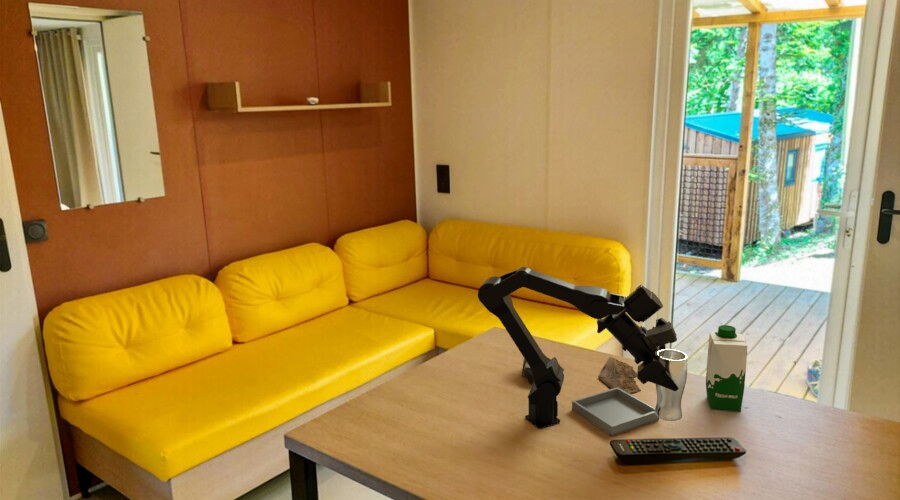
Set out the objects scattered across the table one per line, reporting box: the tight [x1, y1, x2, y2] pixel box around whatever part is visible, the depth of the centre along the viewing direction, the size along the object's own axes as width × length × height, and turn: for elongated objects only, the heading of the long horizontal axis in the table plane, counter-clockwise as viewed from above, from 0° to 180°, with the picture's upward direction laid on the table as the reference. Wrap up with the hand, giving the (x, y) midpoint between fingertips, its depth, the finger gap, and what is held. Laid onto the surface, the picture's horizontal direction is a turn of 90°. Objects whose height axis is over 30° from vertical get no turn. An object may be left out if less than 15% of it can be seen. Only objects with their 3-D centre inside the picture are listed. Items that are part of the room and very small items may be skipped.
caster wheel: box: [521, 357, 534, 384], centre depth 180 cm, size 7×11×10 cm
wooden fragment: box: [598, 356, 642, 395], centre depth 180 cm, size 26×11×1 cm, turn 169°
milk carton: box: [705, 324, 748, 413], centre depth 159 cm, size 9×9×20 cm
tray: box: [571, 387, 660, 437], centre depth 158 cm, size 15×15×2 cm
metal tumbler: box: [654, 348, 688, 422], centre depth 145 cm, size 7×7×15 cm
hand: (676, 383), depth 144 cm, fingers closed on metal tumbler, 6 cm apart
